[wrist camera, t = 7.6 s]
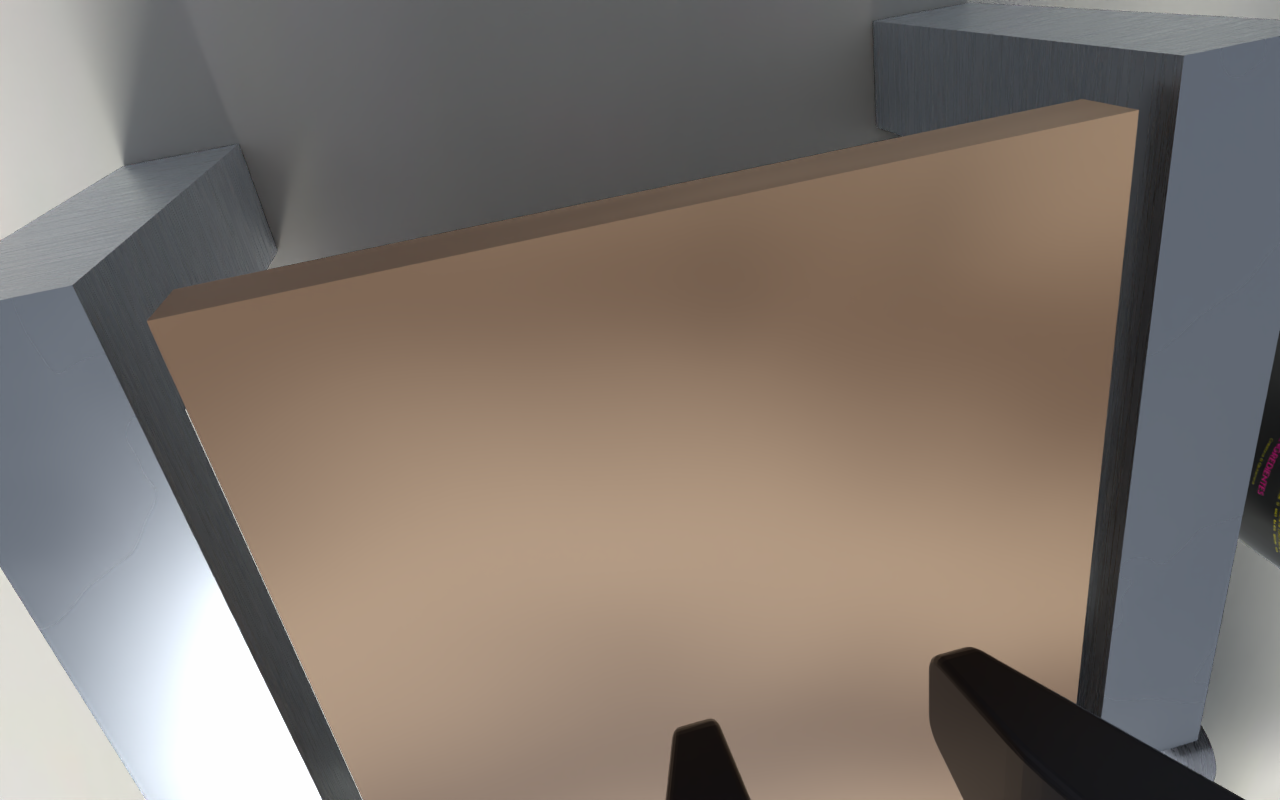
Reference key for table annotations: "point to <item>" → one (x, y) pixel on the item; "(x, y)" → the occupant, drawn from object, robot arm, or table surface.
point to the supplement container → (1265, 479)
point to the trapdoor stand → (905, 105)
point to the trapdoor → (683, 463)
